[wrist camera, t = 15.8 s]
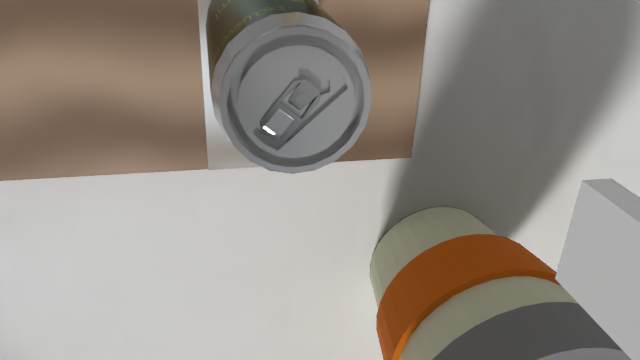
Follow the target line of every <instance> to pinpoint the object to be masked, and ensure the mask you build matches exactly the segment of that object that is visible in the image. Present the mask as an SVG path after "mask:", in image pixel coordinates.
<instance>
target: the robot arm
mask: <svg viewBox="0 0 640 360" xmlns="http://www.w3.org/2000/svg"><path fill="white" fill-rule="evenodd" d="M555 279H556V280H557V281H558V282H559V283H560V285H561V286H562V287H563V288H564V289H565V290H566V291H567V292H568V293H569V294H570V295H571V296H572V297H573V298H574V299H575V300H576V301H577V303H578V304H579V305H580V306H581V307H582V308H583V309H584V310H585V311H586V312H587V313H588V314H589V315H590V316H591V317H592V318H593V319H594V320H595V322H596V323H597V324H598V325H599V326H600V327H601V328H602V329H603V330H604V331H605V332H606V333H607V334H608V335H609V336H610V337H611V338H612V340H613V341H614V342H615V343H616V344H617V345H618V346H619V347H620V348H621V349H622V350H623V351H624V352H625V353H626V354H627V355H628V356H629V358H630V359H631V360H640V198H639V197H638V196H637V195H635V194H634V193H632V192H631V191H629V190H628V189H626V188H625V187H623V186H622V185H620V184H619V183H617V182H616V181H614V180H613V179H612V178H611V179H597V180H582V183H581V186H580V190H579V194H578V197H577V201H576V204H575V208H574V212H573V215H572V219H571V223H570V226H569V230H568V233H567V237H566V241H565V244H564V248H563V252H562V255H561V259H560V262H559V266H558V270H557V273H556V277H555Z"/></svg>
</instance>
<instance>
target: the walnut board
mask: <svg viewBox="0 0 640 360" xmlns="http://www.w3.org/2000/svg"><path fill="white" fill-rule="evenodd" d="M211 1H212V0H0V181H5V180H23V179H41V178H58V177H76V176H94V175H111V174H129V173H147V172H164V171H182V170H200V169H208V170H213V169H231V168H249V167H261V166H259V165H257V164H255V163H253V162H251V161H249V160H248V159H247V158H246V157H245V156H244V155H243V154H242V153H241V152H239V151H238V150H237V149H236V148H235V147H234V146H233V144H232V143H231V142H230V141H229V140H228V139H227V138H226V137H225V135H224V133H223V131H222V129H221V127H220V126H219V124H218V122H217V120H216V118H215V116H214V110H213V104H212V98H211V91H210V78H209V64H208V51H207V38H206V19H207V12H208V7H209V5H210V3H211ZM314 1H315V2H316V3H317V4H318V5H319V6H320V7H321V8H322V9H323V10H324V11H325V12H326V13H327V14H328V15H329V16H331V17H332V18H333V19H334V20H335V21H336V22H337V23H338V24H339V25H340V26H341V27H342V28H343V29H344V30H345V31H346V32H347V33H348V35H349V36H350V37H351V38H352V39H353V41H354V42H355V43H356V44H357V46H358V47H359V48H360V49H361V51H362V54H363V57H364V60H365V62H366V65H367V68H368V71H369V80H370V83H371V109H370V112H369V115H368V119H367V122H366V126H365V128H364V130H363V131H362V133H361V134H360V136H359V137H358V139H357V140H356V142H355V143H354V145H353V146H352V147H351V148H350V149H349V150H347V151H346V152H345V153H344V154H343V155H342V156H340V157H339V158H338V159H337V160H336V161H334V162H341V161H359V160H376V159H394V158H411V155H412V146H413V138H414V130H415V121H416V113H417V104H418V96H419V87H420V79H421V70H422V62H423V53H424V45H425V37H426V28H427V20H428V11H429V3H430V0H314Z"/></svg>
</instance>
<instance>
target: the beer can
mask: <svg viewBox="0 0 640 360" xmlns="http://www.w3.org/2000/svg"><path fill="white" fill-rule="evenodd" d="M206 38H207V51H208V64H209V78H210V91H211V98H212V104H213V110H214V116H215V118H216V120H217V122H218V124H219V126H220V127H221V129H222V131H223V133H224V135H225V137H226V138H227V139H228V140H229V141H230V142H231V143H232V144H233V146H234V147H235V148H236V149H237V150H238V151H239V152H241V153H242V154H243V155H244V156H245V157H246V158H247V159H248V160H249V161H251V162H253V163H255V164H257V165H259V166H261V167H264V168H266V169H268V170H270V171H277V172H284V173H292V174H293V173H300V172H306V171H313V170H316V169H319V168H321V167H323V166H325V165H327V164H330V163H332V162H334V161H336V160H337V159H338V158H339V157H340V156H342V155H343V154H344V153H345V152H346V151H347V150H349V149H350V148H351V147H352V146H353V145H354V143H355V142H356V140H357V139H358V137H359V136H360V134H361V133H362V131H363V130H364V128H365V126H366V122H367V119H368V115H369V112H370V109H371V83H370V80H369V71H368V68H367V65H366V62H365V60H364V57H363V54H362V51H361V49H360V48H359V47H358V46H357V44H356V43H355V42H354V41H353V39H352V38H351V37H350V36H349V35H348V33H347V32H346V31H345V30H344V29H343V28H342V27H341V26H340V25H339V24H338V23H337V22H336V21H335V20H334V19H333V18H332V17H331V16H329V15H328V14H327V13H326V12H325V11H324V10H323V9H322V8H321V7H320V6H319V5H318V4H317V3H316V2H315V1H314V0H212V1H211V3H210V5H209V7H208V12H207V19H206Z"/></svg>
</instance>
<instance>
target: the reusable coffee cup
mask: <svg viewBox="0 0 640 360" xmlns="http://www.w3.org/2000/svg"><path fill="white" fill-rule="evenodd" d="M555 277H556V272H555V271H554V270H553V269H551V268H550V267H549V266H547V265H546V264H545V263H544V262H542V261H541V260H540V259H538V258H537V257H536V256H535V255H533V254H532V253H531V252H529V251H528V250H527V249H526V248H524V247H523V246H522V245H520V244H519V243H517V242H515V241H513V240H511V239H509V238H506V237H501V236H498V235H497V234H496V233H495V232H493V231H492V230H491V229H490V228H488V227H487V226H486V225H485V224H483V223H482V222H481V221H480V220H478V219H477V218H476V217H475V216H473V215H472V214H470V213H468V212H466V211H464V210H461V209H457V208H453V207H435V208H428V209H425V210H422V211H418V212H415V213H413V214H411V215H409V216H407V217H406V218H404V219H402V220H401V221H399V222H398V223H397V224H395V225H394V226H393V227H392V228H391V229H390V230H389V231H388V232H387V233H386V234H385V235H384V236H383V238H382V239H381V240H380V242H379V243H378V245H377V247H376V249H375V251H374V253H373V255H372V260H371V264H370V278H371V282H372V286H373V290H374V294H375V298H376V302H377V306H378V312H377V333H378V338H379V342H380V346H381V350H382V354H383V359H384V360H631V359H630V358H629V356H628V355H627V354H626V353H625V352H624V351H623V350H622V349H621V348H620V347H619V346H618V345H617V344H616V343H615V342H614V341H613V340H612V338H611V337H610V336H609V335H608V334H607V333H606V332H605V331H604V330H603V329H602V328H601V327H600V326H599V325H598V324H597V323H596V322H595V320H594V319H593V318H592V317H591V316H590V315H589V314H588V313H587V312H586V311H585V310H584V309H583V308H582V307H581V306H580V305H579V304H578V303H577V301H576V300H575V299H574V298H573V297H572V296H571V295H570V294H569V293H568V292H567V291H566V290H565V289H564V288H563V287H562V286H561V285H560V283H559V282H558V281H557V280H556V279H555Z"/></svg>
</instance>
